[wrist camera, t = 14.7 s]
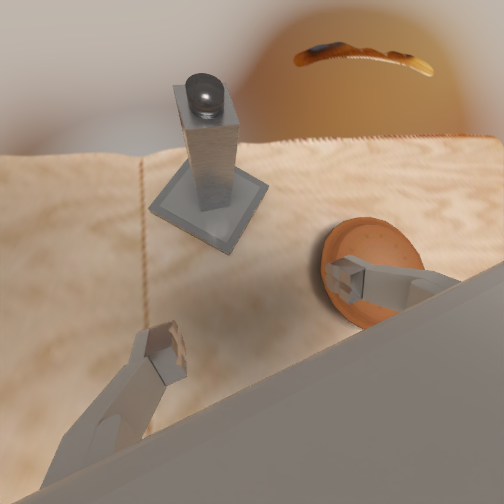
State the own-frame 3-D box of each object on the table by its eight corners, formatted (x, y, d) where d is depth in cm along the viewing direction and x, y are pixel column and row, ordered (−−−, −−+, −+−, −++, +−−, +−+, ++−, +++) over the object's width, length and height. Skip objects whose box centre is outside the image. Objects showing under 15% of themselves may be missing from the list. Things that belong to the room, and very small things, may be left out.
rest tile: (151, 212, 26) (147, 208, 25) (198, 151, 30) (198, 145, 28) (229, 255, 26) (229, 253, 25) (267, 190, 30) (269, 185, 29)
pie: (288, 282, 27) (303, 279, 22) (340, 207, 31) (362, 191, 27) (376, 353, 27) (410, 365, 22) (416, 267, 31) (452, 261, 26)
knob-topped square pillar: (201, 211, 26) (181, 113, 12) (194, 185, 27) (168, 66, 13) (230, 206, 27) (241, 108, 13) (222, 181, 28) (225, 64, 14)
